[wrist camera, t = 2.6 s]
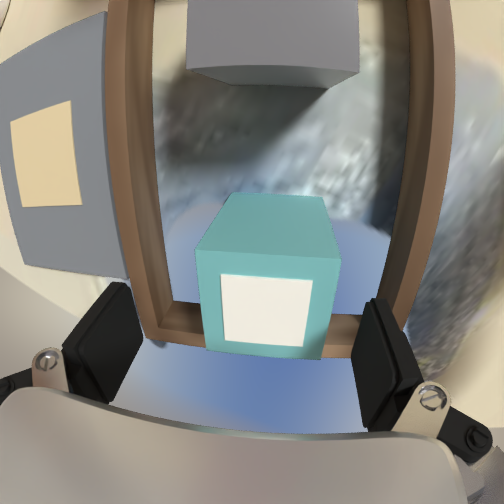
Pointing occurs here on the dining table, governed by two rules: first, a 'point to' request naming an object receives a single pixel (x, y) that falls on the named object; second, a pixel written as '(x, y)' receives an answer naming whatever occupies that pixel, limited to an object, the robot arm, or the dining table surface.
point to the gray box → (273, 41)
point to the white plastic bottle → (3, 9)
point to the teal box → (268, 276)
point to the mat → (60, 152)
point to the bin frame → (146, 189)
